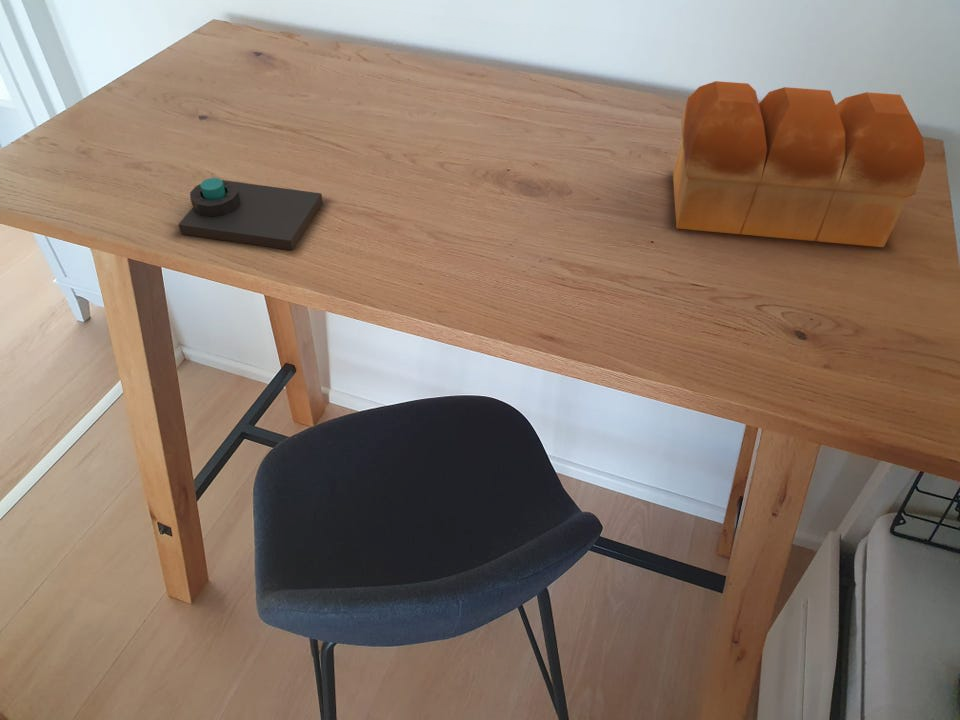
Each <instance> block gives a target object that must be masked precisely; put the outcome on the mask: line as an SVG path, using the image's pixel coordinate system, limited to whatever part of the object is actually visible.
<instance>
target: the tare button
mask: <svg viewBox="0 0 960 720" xmlns="http://www.w3.org/2000/svg"><path fill="white" fill-rule="evenodd" d="M222 180H223V179H220V178H218V177H210V178H206V179H204V180H202V181H201V183H200V184H201V185H200V184H199V185H200V187H201V190H202V194H203V197H204V198H205V199H208V200H215V199H219V198H221V197H223V196H225V194H226V192H225V189H224V185H223V181H222Z"/></svg>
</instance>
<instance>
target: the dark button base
mask: <svg viewBox="0 0 960 720" xmlns="http://www.w3.org/2000/svg"><path fill="white" fill-rule="evenodd" d="M221 180H222V181H223V185H224V189H225V192H226V194H225V196H223V197H221V198H219V199H215V200H208V199H205V198H204V197H203V194H202V190H201V187H200V185H201V183H199V184H198V185H195V186H194V188H193V189H192V190H191V191H190V192H189V198H190V203H191V205H192V207H191V209H190V210H189V211H188V212H187V213H186V214H185V216H183V218H182V219H181V220H180V222H179V223H178V225H177V226H178V228H179V231H180V234H181V235H186V236H192V237H200V238H206V239H212V240H213V239H214V240H220V241H227V242H231V243H232V242H233V243H240V244H246V245H254V246H261V247H267V248H275V249H282V250H288V251H293V250H294V249H295V247H296V245H298V242H299V241H300V240H301V238H302V236H303V235H304V233H305V232H306V230H307V229H308V227H309V225H310V224H311V222H312V221H313V219H314V218H315V216H316V215H317V213H318V211H319V209H321V207H322V205H323V203H324V202H323V195H322V193H321V192H313V191H306V190H299V189H293V188H286V187H285V188H284V187H277V186H269V185H262V184H255V183H246V182H239V181H233V180H231V181H230V180H227V179H226V180H224V179H221Z"/></svg>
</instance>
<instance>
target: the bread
mask: <svg viewBox="0 0 960 720" xmlns="http://www.w3.org/2000/svg"><path fill="white" fill-rule="evenodd" d="M680 125H681V138H680V143H679V147H678V150H677V155H676V156H677V157H676V160H675V165H674V170H673V173H672V181H673V197H674V209H675V210H674V212H675V226H676V229H677V230H688V231H689V230H690V231H701V232H712V233H722V234H733V235H744V236H753V237H754V236H756V237H764V238H765V237H767V238H776V239H777V238H778V239H787V240H797V241H811V242H822V243H832V244H843V245H853V246H854V245H855V246H863V247H864V246H865V247H875V248H885V245H886V243H887V242H888V240H889V237H890V235H891V233H892V231H893V229H894V227H895V225H896V223H897V220H898V218H899V217H900V214H901V213H902V210H903V208H904V206H905V204H906V202H907V200H908V198H910V197H912V196H914V195H916V192H917V189H918V186H919V183H920V180H921V177H922V174H923V171H924V167H925V165H926V158H925V147H924V138H923V136H922V134H921V131H920V129H919V128H918V126H917V123H916V121H915V120H914V118H913V116H912V113H911V112H910V110H909V108H908V105H906V102H905V101H904V99H903V96H902V95H901V94H897V93H896V94H895V93H883V92H881V93H880V92H867V91H866V92H863V93H862V92H861V93H858V94H854V95H850V96H846V97H845V98H843V99H842V100H841V101H839V102H837V103H836V102H835V99H834V97H833V95H832V92H831V90H829V89H813V88H800V87H790V86H789V87H787V86H784V87H781V88H778V89H774V90H770V91H768V92H767V94H766V95H765V96H764V97H763V98H762V100H761V101H759V99H758V94H757V91H756V89H755V88H754V87H752V85H751V84H750V83H748V82H746V83H745V82H735V81H734V82H731V81H717V80H715V81H712V82H709V83H705V84H703V85H700V86H698V87H697V89H695V90H694V91H693V92H692V94H691V95H690V96H688V98H687V101H686V104H685V107H684V110H683V114H682V117H681V120H680Z"/></svg>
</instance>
